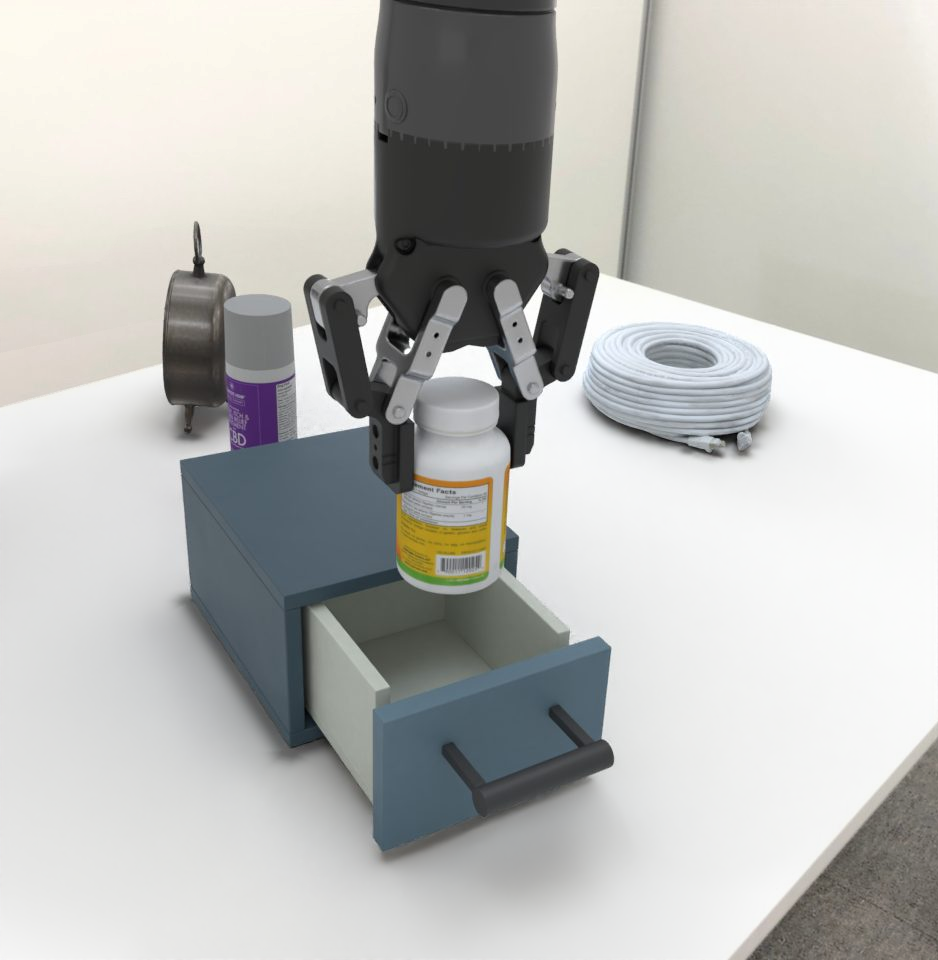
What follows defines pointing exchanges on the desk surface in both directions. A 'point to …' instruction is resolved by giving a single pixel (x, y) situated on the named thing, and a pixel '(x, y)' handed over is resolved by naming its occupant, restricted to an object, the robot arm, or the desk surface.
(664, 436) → the cable
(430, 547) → the supplement bottle
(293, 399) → the container
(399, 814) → the drawer
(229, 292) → the alarm clock
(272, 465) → the cabinet
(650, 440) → the desk surface
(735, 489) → the desk surface
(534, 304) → the desk surface
